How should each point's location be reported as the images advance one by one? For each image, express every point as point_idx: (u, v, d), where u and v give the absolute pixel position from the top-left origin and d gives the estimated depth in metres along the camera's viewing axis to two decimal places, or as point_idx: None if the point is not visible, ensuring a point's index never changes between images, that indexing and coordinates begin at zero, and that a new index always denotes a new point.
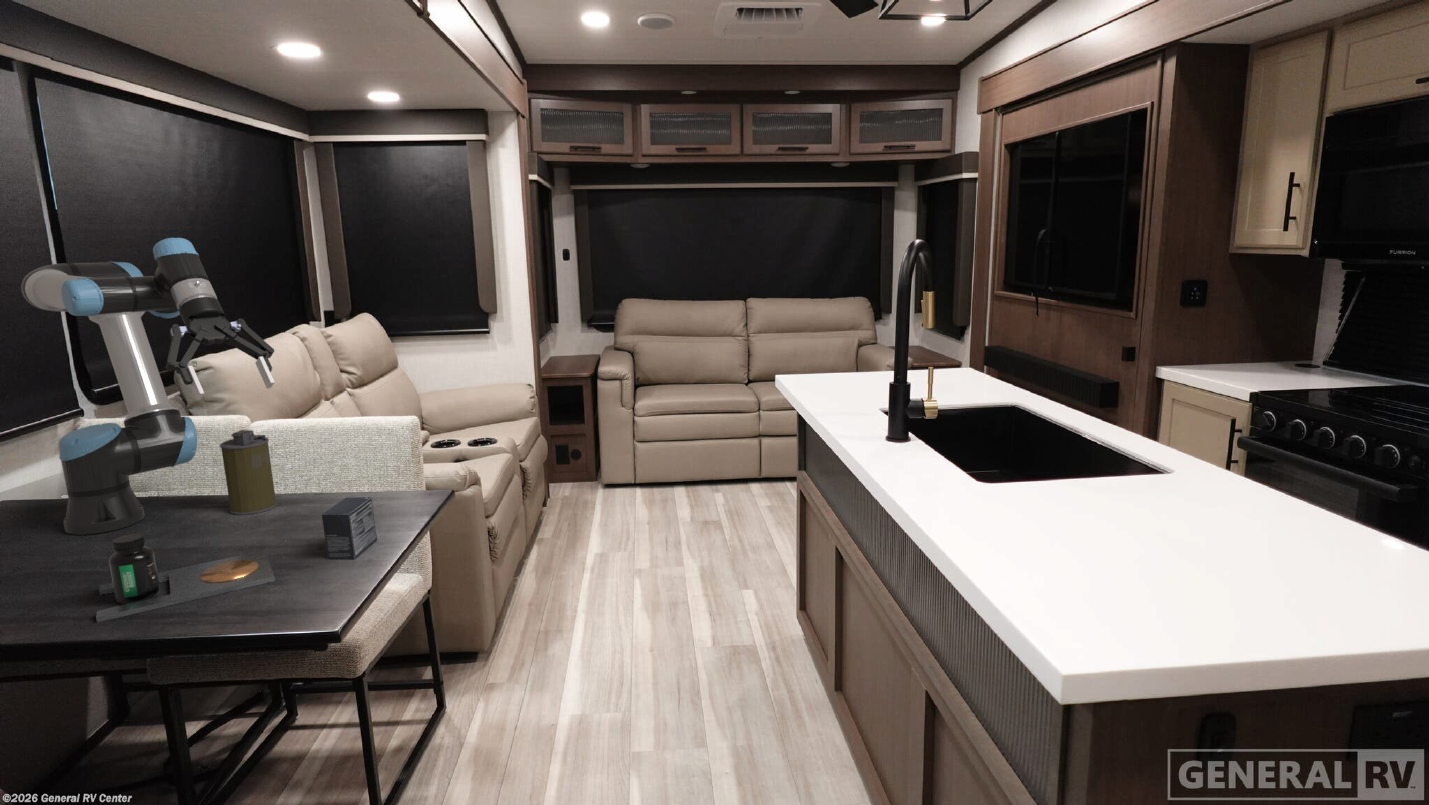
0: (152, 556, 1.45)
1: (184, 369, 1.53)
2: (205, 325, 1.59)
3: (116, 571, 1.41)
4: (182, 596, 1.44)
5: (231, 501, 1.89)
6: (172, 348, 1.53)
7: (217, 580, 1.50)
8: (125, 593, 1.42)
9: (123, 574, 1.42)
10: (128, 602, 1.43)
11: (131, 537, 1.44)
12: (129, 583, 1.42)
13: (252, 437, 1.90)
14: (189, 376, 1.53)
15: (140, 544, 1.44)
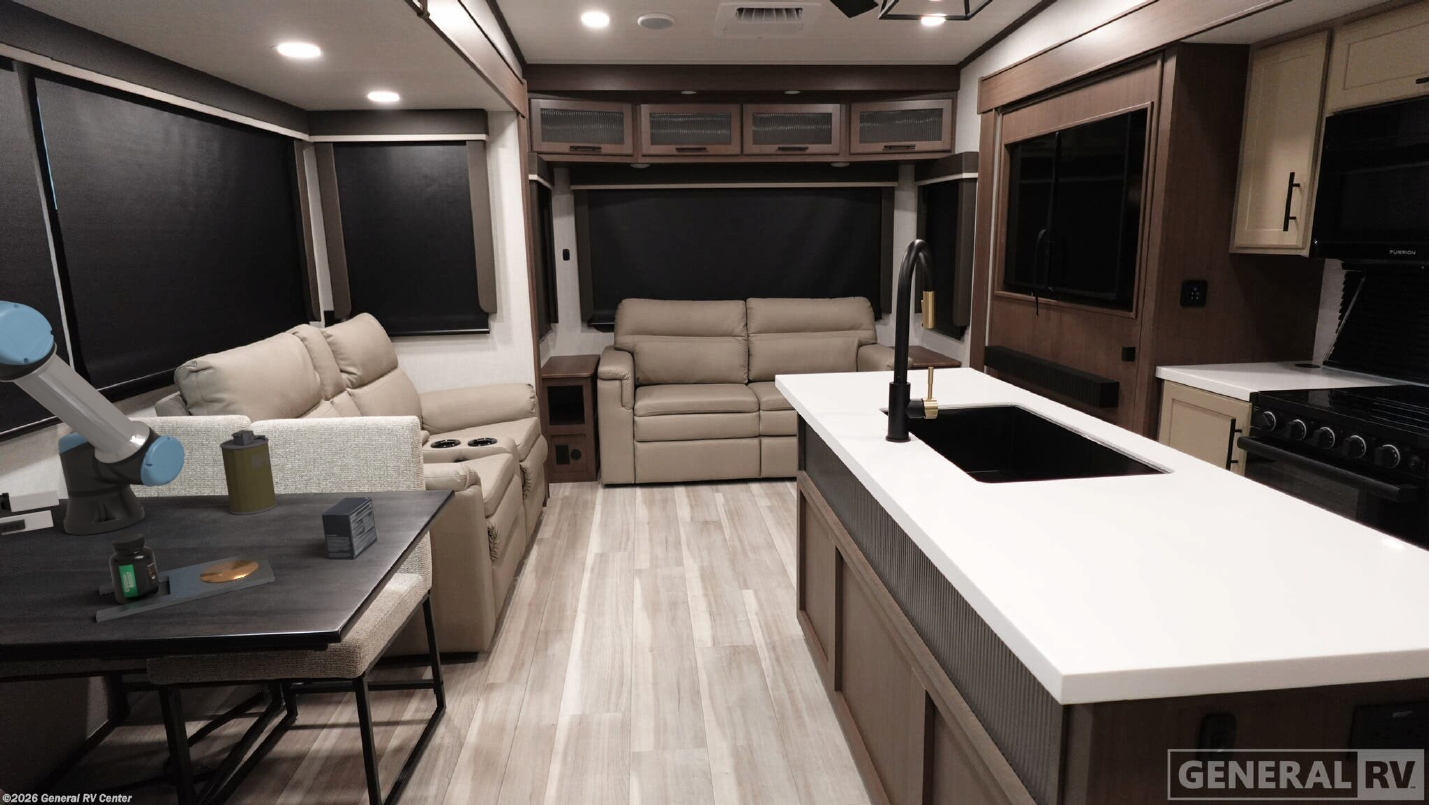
0: (152, 556, 1.45)
1: None
2: None
3: (116, 571, 1.41)
4: (182, 596, 1.44)
5: (231, 501, 1.89)
6: None
7: (217, 580, 1.50)
8: (125, 593, 1.42)
9: (123, 574, 1.42)
10: (128, 602, 1.43)
11: (131, 537, 1.44)
12: (129, 583, 1.42)
13: (252, 437, 1.90)
14: None
15: (140, 544, 1.44)
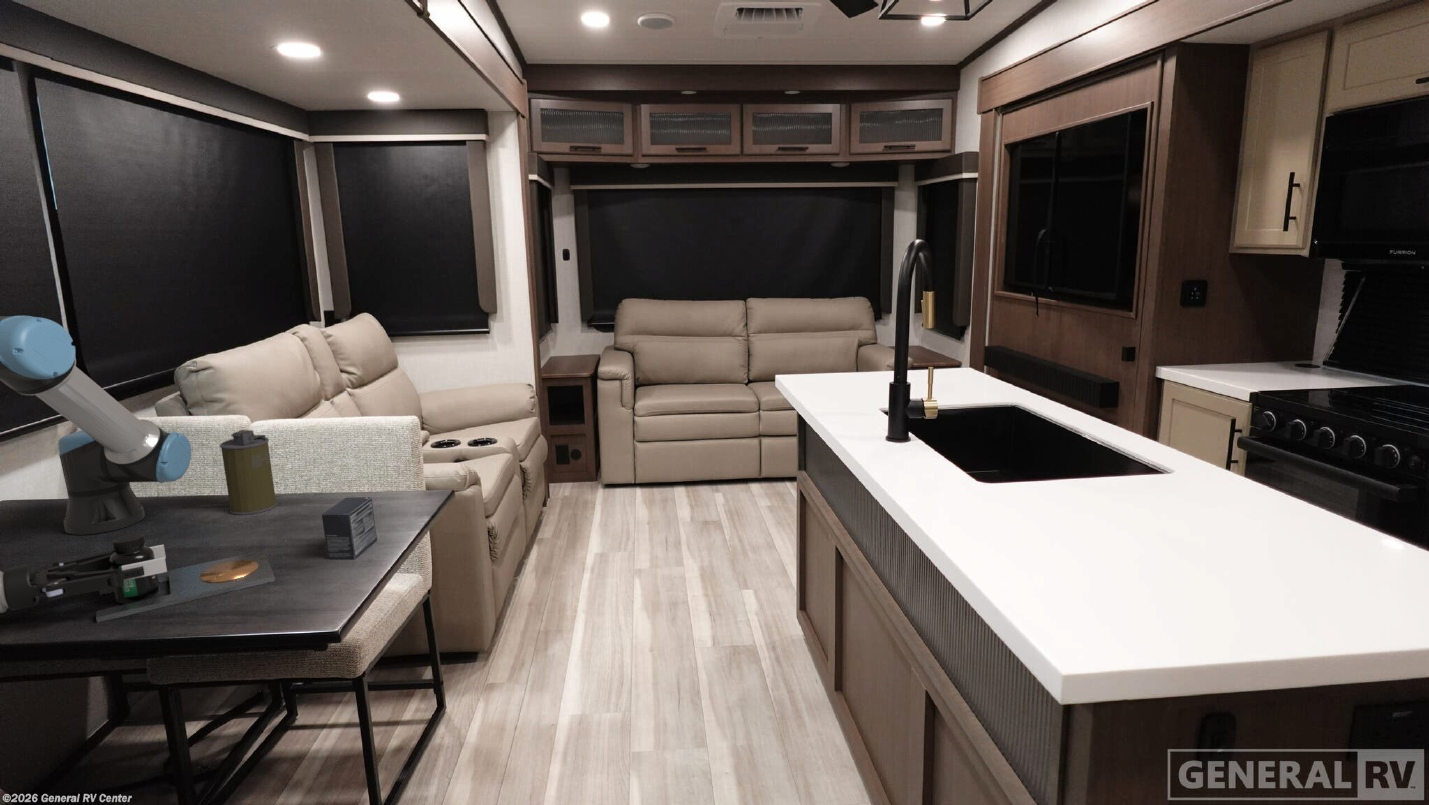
0: (152, 556, 1.45)
1: None
2: None
3: None
4: (182, 596, 1.44)
5: (231, 501, 1.89)
6: None
7: (217, 580, 1.50)
8: (125, 593, 1.42)
9: None
10: (128, 602, 1.43)
11: (131, 537, 1.44)
12: (129, 583, 1.42)
13: (252, 437, 1.90)
14: None
15: (140, 544, 1.44)
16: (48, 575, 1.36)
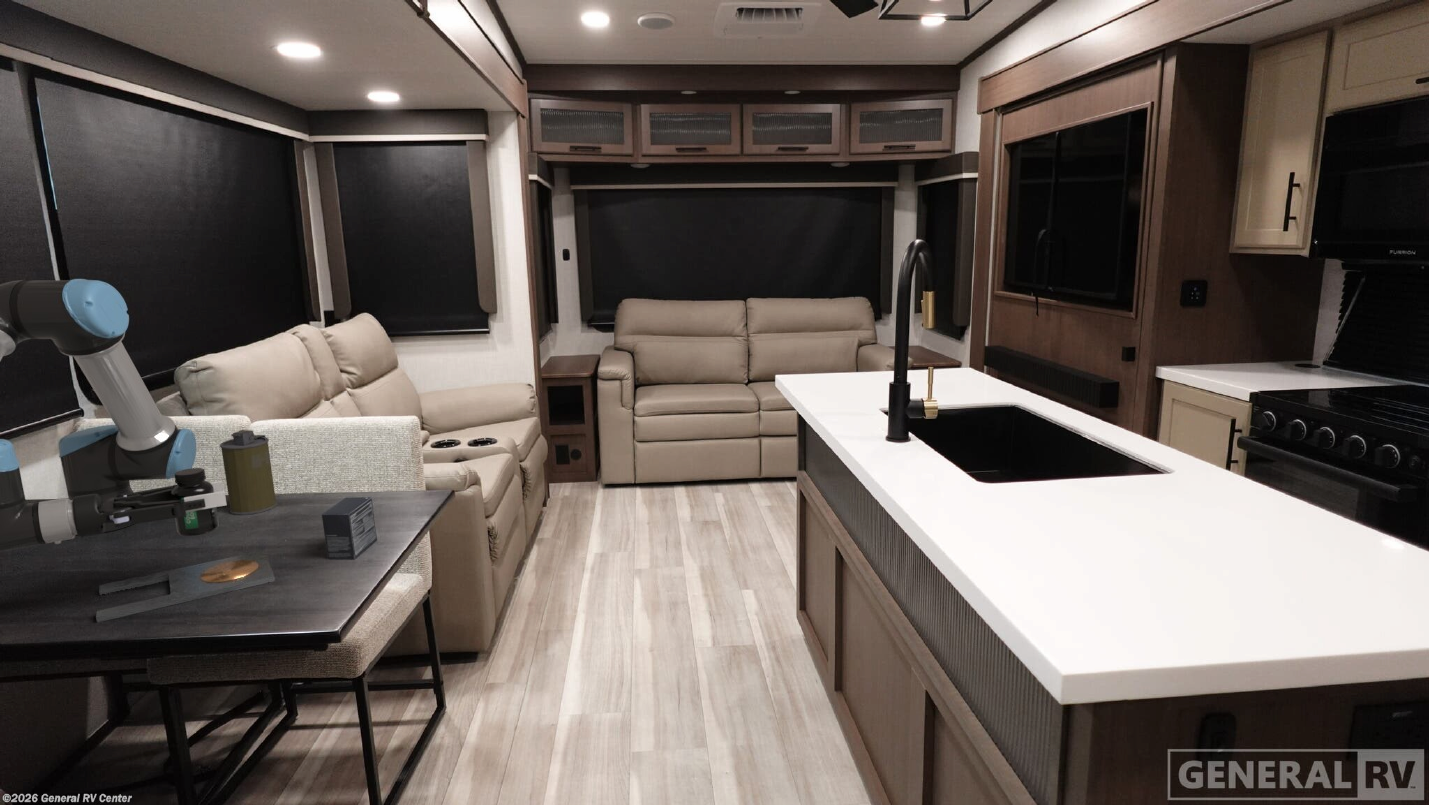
0: (212, 489, 1.49)
1: None
2: None
3: None
4: (182, 596, 1.44)
5: (231, 501, 1.89)
6: None
7: (217, 580, 1.50)
8: (186, 524, 1.46)
9: None
10: (189, 534, 1.46)
11: (192, 470, 1.47)
12: (190, 515, 1.45)
13: (252, 437, 1.90)
14: None
15: (201, 477, 1.47)
16: (114, 504, 1.40)
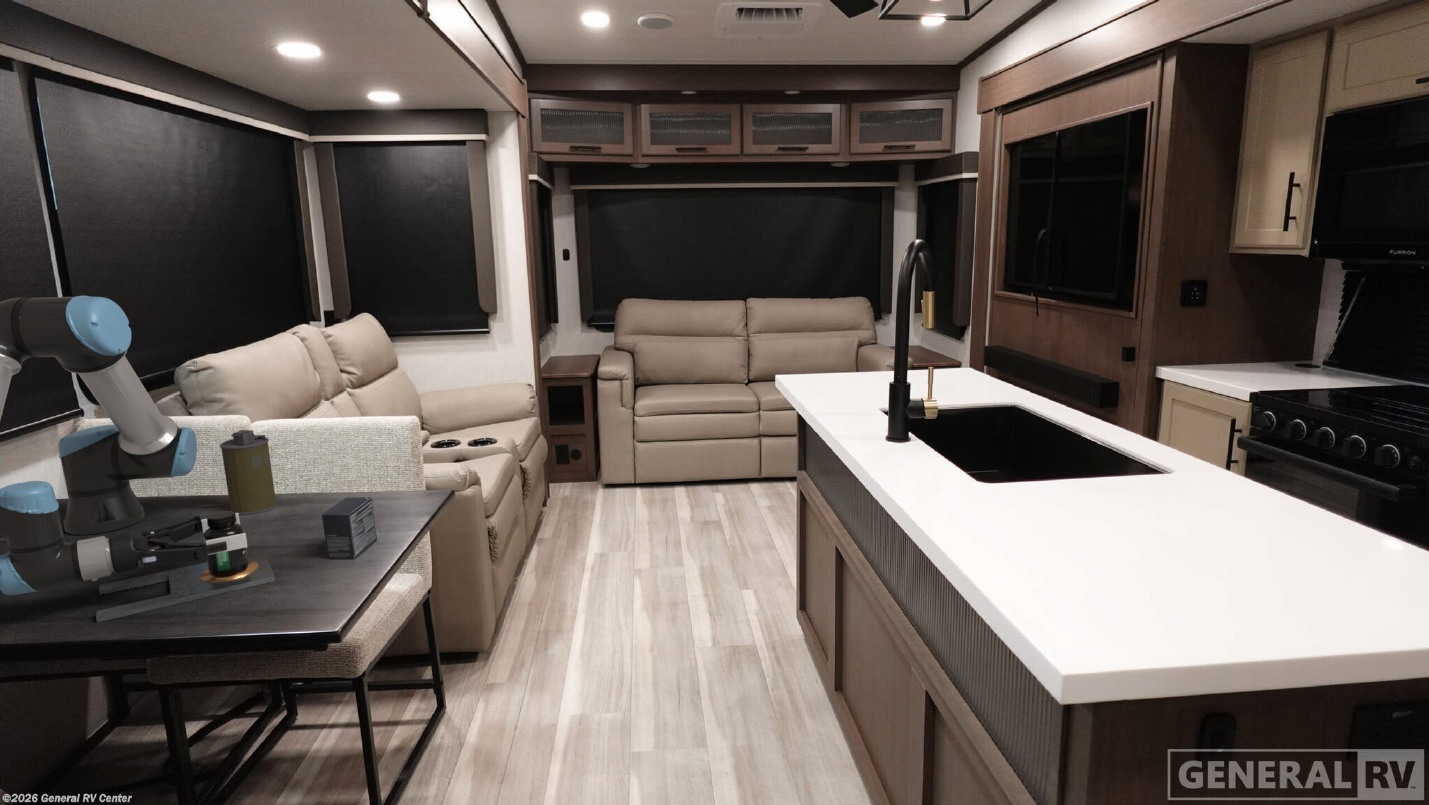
0: (243, 532, 1.54)
1: None
2: None
3: None
4: (182, 596, 1.44)
5: (231, 501, 1.89)
6: None
7: (217, 580, 1.50)
8: (218, 566, 1.51)
9: None
10: (221, 575, 1.51)
11: (223, 514, 1.52)
12: (222, 557, 1.50)
13: (252, 437, 1.90)
14: None
15: (232, 520, 1.52)
16: (148, 541, 1.44)
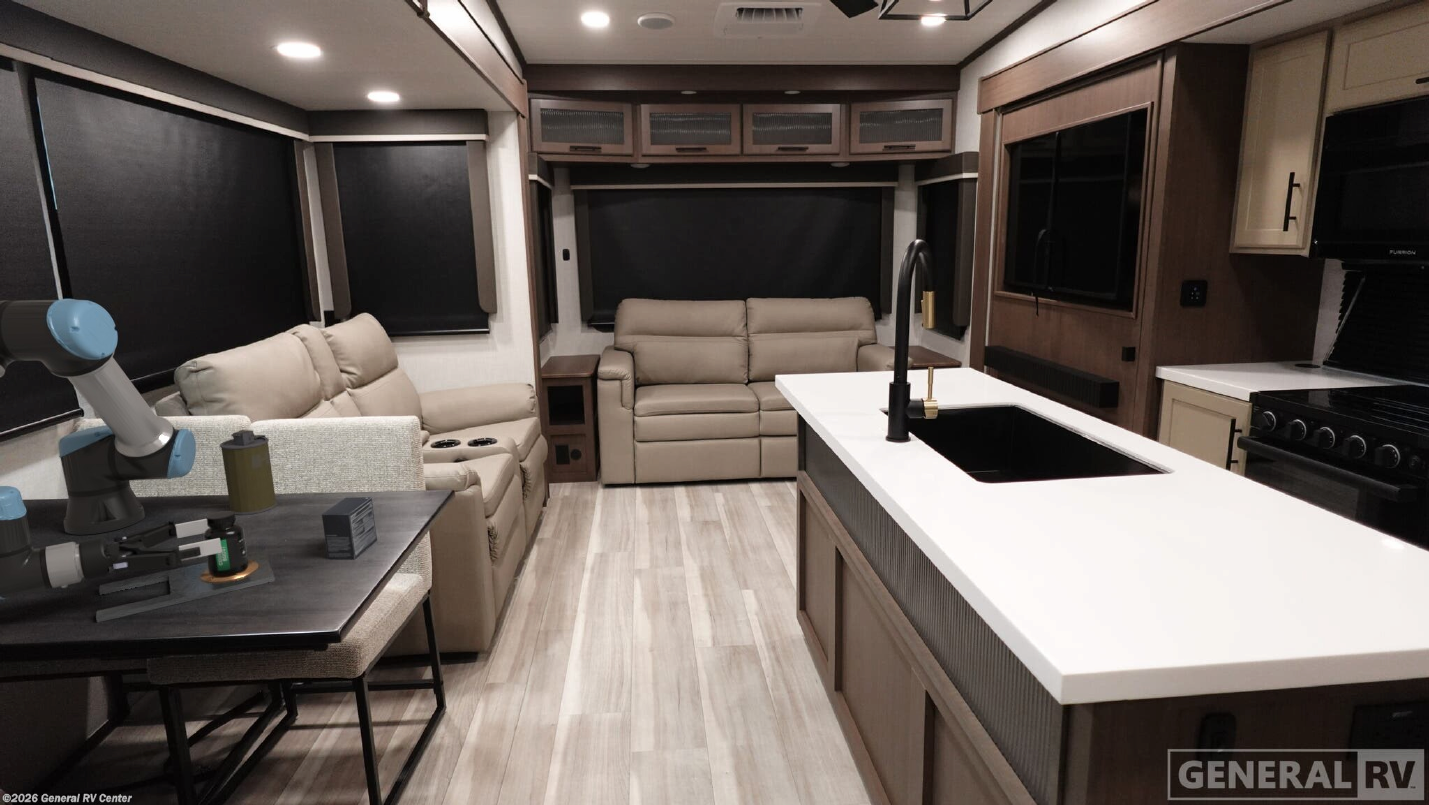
0: (242, 532, 1.54)
1: None
2: None
3: None
4: (182, 596, 1.44)
5: (231, 501, 1.89)
6: None
7: (217, 580, 1.50)
8: (218, 566, 1.51)
9: None
10: (221, 575, 1.51)
11: (223, 514, 1.52)
12: (222, 557, 1.51)
13: (252, 437, 1.90)
14: None
15: (232, 520, 1.52)
16: (119, 547, 1.42)
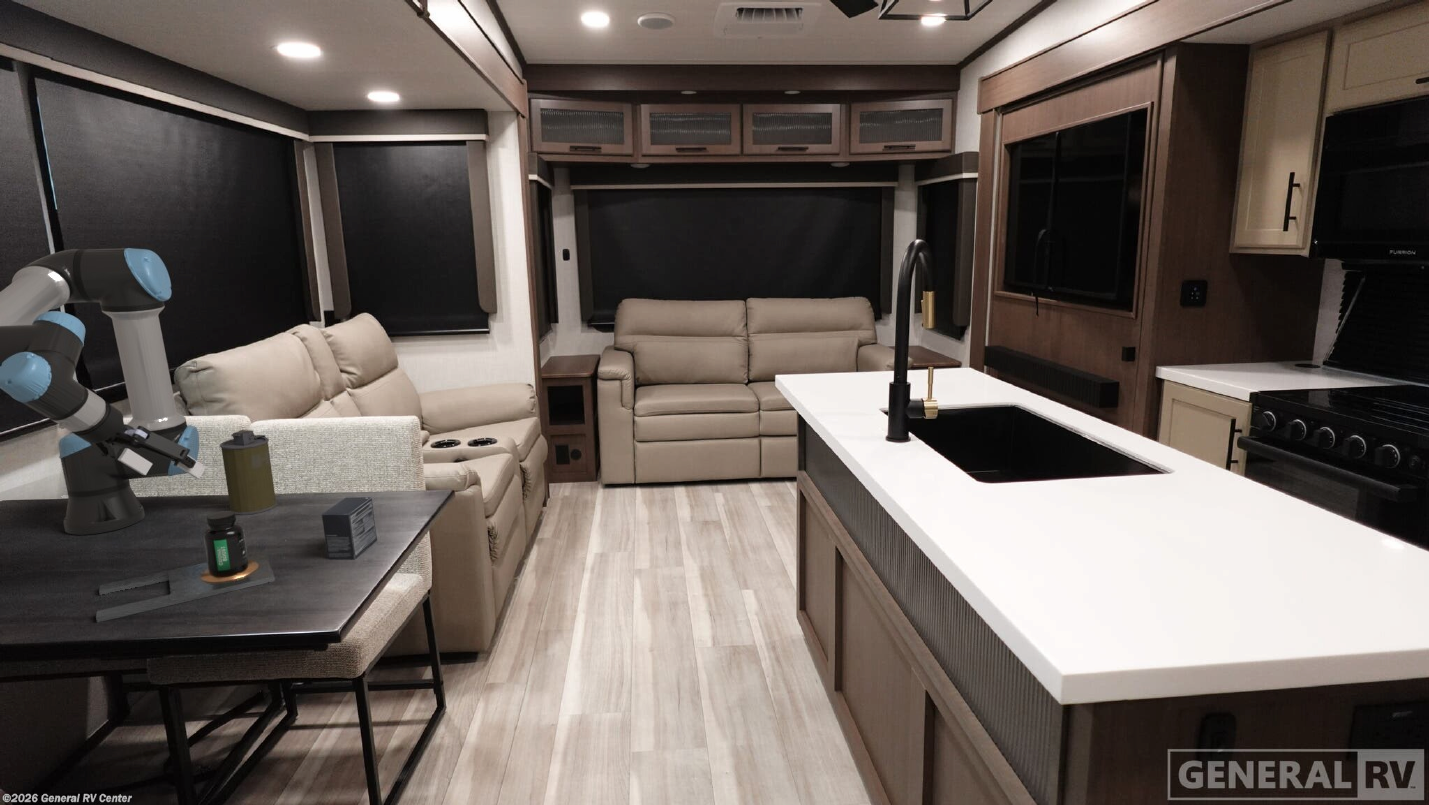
0: (243, 532, 1.54)
1: (118, 457, 1.55)
2: (104, 442, 1.46)
3: (211, 546, 1.50)
4: (182, 596, 1.44)
5: (231, 501, 1.89)
6: (94, 448, 1.51)
7: (217, 580, 1.50)
8: (218, 566, 1.51)
9: (218, 548, 1.50)
10: (221, 575, 1.51)
11: (223, 514, 1.52)
12: (222, 557, 1.51)
13: (252, 437, 1.90)
14: None
15: (232, 520, 1.52)
16: (126, 425, 1.47)
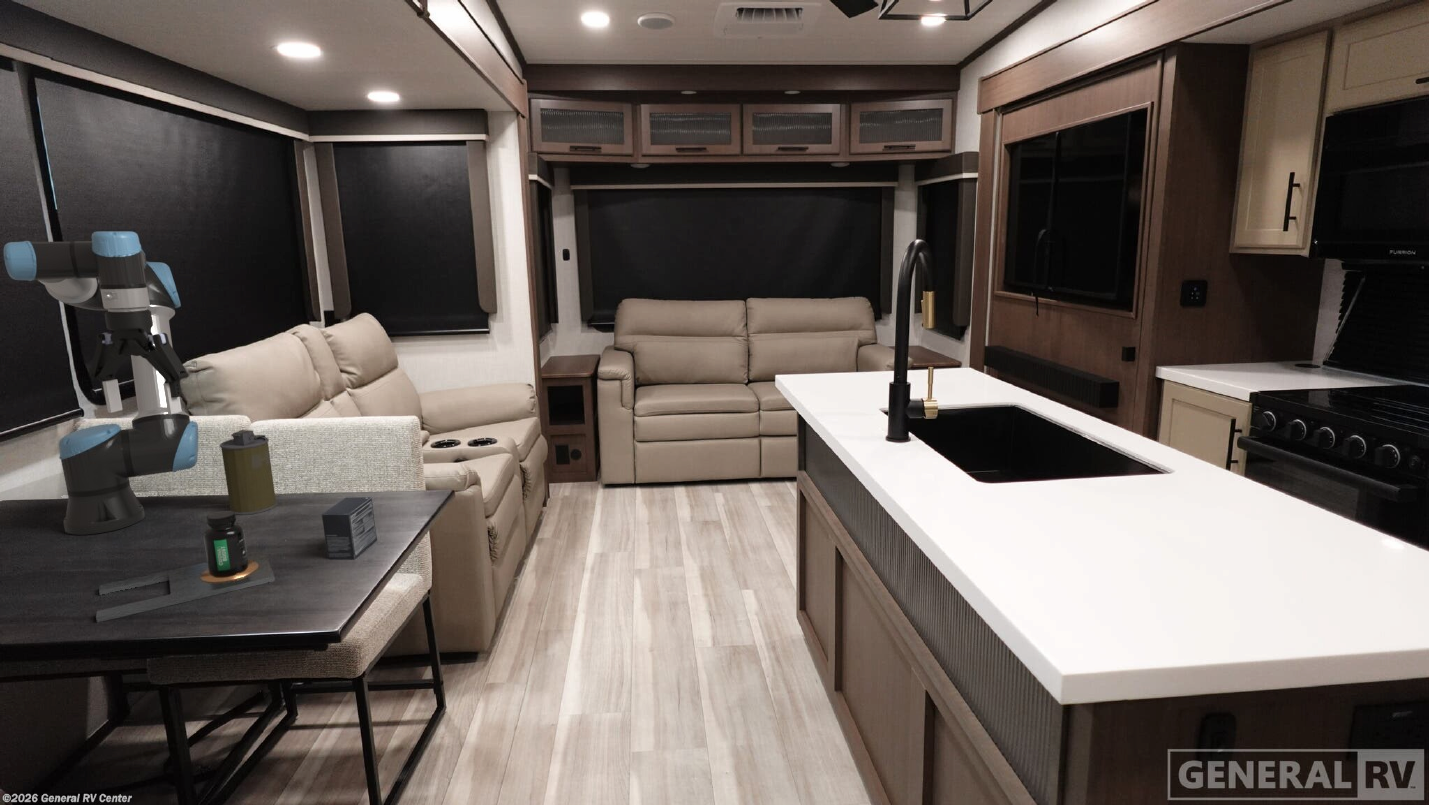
0: (242, 532, 1.54)
1: (102, 382, 1.57)
2: (118, 341, 1.53)
3: (211, 546, 1.50)
4: (182, 596, 1.44)
5: (231, 501, 1.89)
6: (93, 360, 1.56)
7: (217, 580, 1.50)
8: (218, 566, 1.51)
9: (218, 548, 1.50)
10: (221, 575, 1.51)
11: (223, 514, 1.52)
12: (222, 557, 1.51)
13: (252, 437, 1.90)
14: None
15: (232, 520, 1.52)
16: None
